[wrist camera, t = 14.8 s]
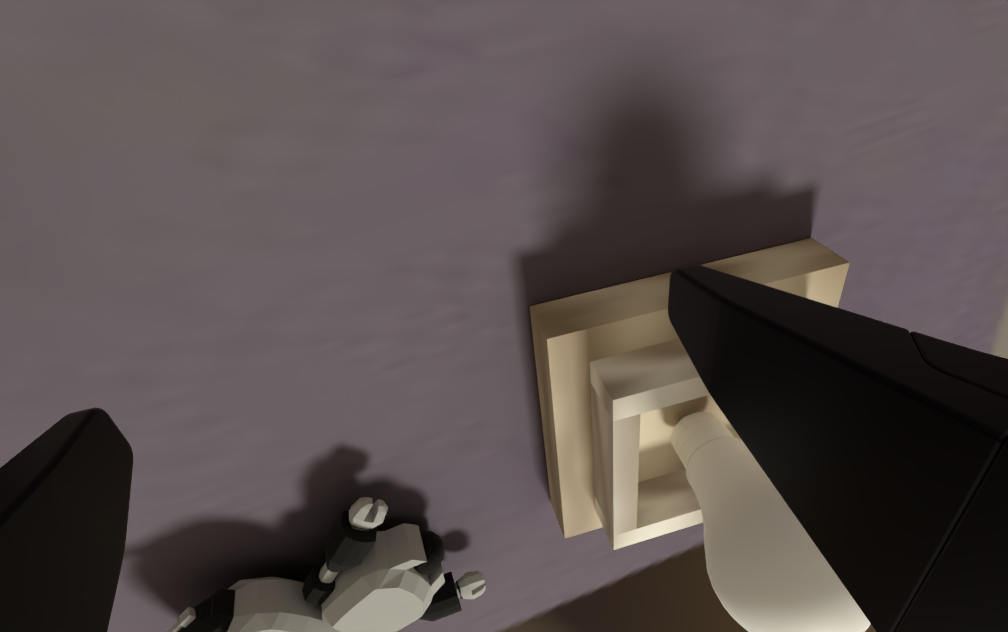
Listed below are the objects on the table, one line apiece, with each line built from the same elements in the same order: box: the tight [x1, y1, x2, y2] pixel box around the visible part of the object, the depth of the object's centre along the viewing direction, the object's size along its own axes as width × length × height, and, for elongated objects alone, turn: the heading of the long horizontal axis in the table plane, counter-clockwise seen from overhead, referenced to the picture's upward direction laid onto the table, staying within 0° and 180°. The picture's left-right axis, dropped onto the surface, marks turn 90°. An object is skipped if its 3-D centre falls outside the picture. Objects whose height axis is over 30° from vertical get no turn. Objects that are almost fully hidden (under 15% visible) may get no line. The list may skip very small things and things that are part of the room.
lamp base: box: [530, 238, 850, 550], centre depth 29 cm, size 14×14×5 cm
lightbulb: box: [671, 412, 871, 632], centre depth 24 cm, size 6×6×11 cm
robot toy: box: [167, 497, 486, 632], centre depth 31 cm, size 12×4×15 cm
